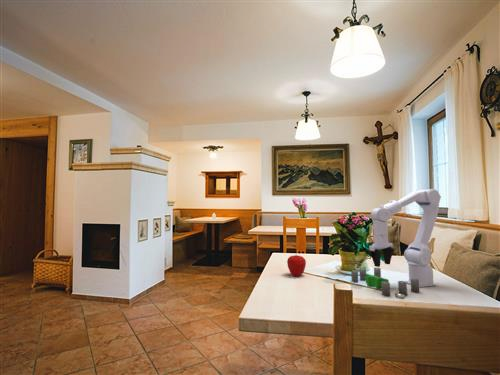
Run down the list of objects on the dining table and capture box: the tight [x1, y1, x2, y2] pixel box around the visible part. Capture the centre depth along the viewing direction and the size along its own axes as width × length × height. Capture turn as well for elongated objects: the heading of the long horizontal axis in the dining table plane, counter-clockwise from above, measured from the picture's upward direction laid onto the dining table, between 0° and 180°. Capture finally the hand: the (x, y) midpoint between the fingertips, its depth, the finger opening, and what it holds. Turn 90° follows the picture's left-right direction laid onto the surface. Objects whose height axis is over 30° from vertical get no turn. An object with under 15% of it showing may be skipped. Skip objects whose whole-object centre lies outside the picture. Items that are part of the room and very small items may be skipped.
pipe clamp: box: [365, 273, 390, 290], centre depth 118 cm, size 11×4×5 cm, turn 25°
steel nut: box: [394, 292, 406, 299], centre depth 105 cm, size 3×3×1 cm
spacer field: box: [350, 267, 421, 297], centre depth 119 cm, size 18×25×5 cm
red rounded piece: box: [286, 254, 307, 277], centre depth 139 cm, size 10×10×11 cm
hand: (382, 265), depth 119 cm, fingers open, 7 cm apart
